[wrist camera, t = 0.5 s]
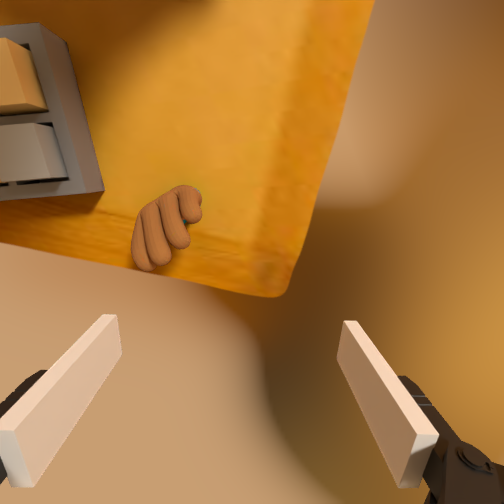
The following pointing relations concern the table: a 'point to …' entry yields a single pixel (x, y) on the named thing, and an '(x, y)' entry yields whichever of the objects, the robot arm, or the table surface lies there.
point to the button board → (55, 117)
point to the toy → (164, 226)
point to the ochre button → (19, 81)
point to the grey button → (30, 153)
